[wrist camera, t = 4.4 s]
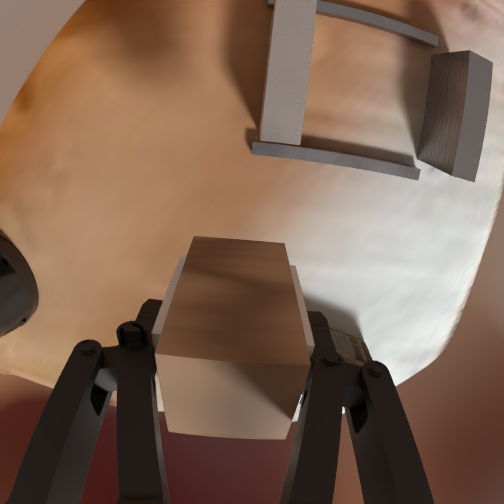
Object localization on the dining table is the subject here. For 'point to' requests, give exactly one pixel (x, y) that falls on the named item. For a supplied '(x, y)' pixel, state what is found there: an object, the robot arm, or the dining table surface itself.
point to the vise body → (437, 109)
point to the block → (233, 342)
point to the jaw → (287, 71)
